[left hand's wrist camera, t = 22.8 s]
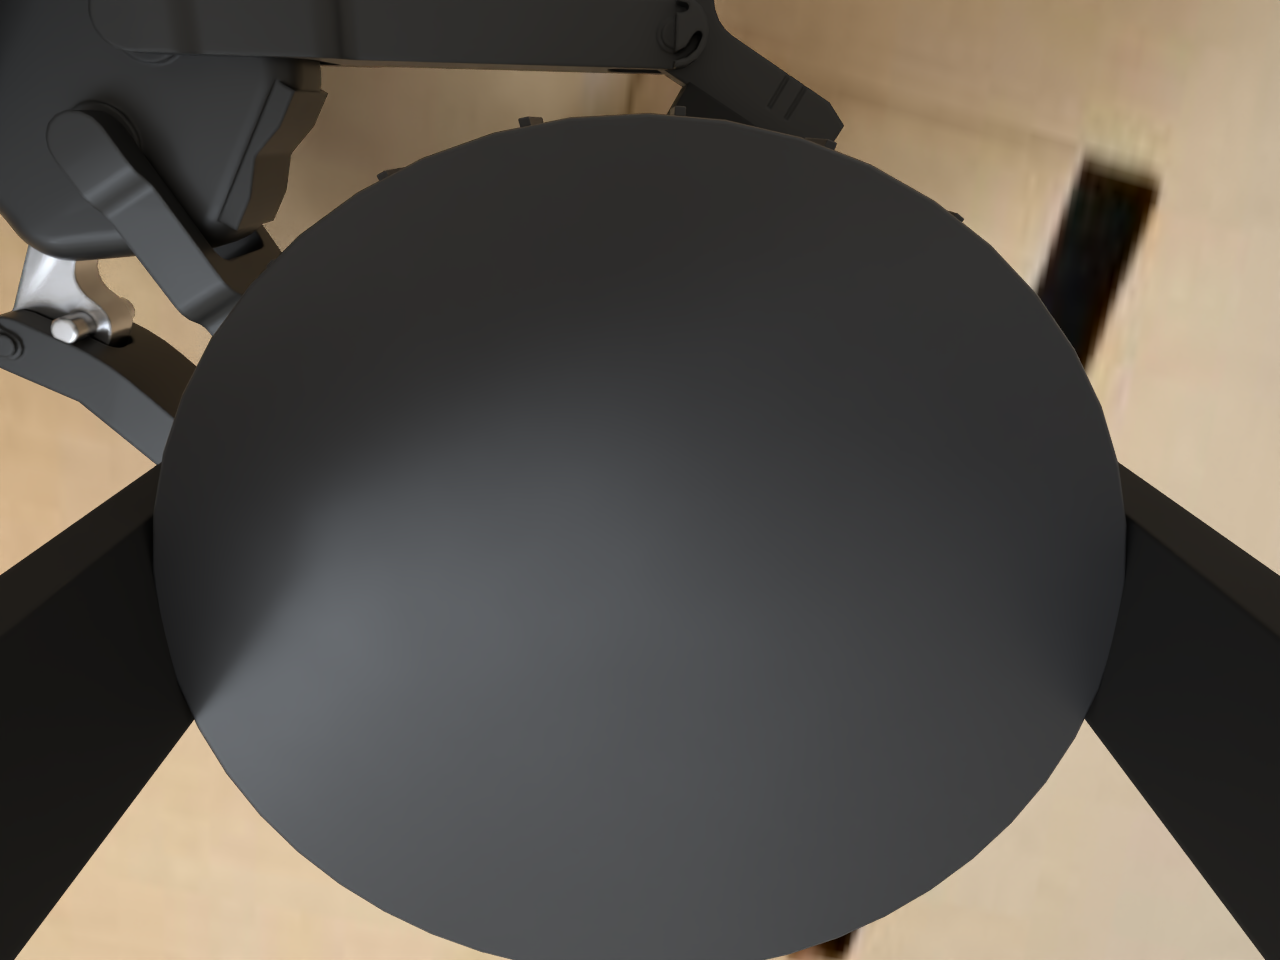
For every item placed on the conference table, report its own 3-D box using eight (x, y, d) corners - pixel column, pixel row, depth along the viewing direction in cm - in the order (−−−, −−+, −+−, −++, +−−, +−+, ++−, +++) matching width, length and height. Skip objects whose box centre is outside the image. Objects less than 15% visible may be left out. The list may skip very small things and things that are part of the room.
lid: (180, 787, 13) (113, 886, 12) (272, -28, 9) (191, -61, 8) (873, 935, 14) (904, 1044, 13) (1219, 265, 10) (1333, 294, 9)
